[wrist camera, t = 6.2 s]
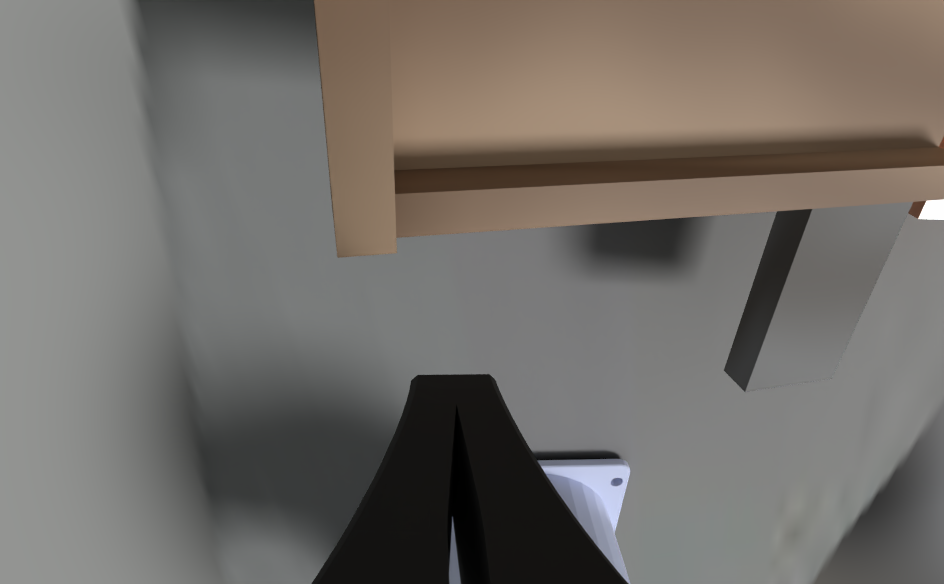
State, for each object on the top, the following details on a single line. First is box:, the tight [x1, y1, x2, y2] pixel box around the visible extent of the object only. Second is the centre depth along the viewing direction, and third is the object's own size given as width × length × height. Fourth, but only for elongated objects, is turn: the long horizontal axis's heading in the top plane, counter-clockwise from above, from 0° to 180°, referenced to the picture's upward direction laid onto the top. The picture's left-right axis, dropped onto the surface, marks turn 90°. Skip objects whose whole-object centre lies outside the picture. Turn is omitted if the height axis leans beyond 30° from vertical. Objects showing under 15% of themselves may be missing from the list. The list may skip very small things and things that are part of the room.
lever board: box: [314, 0, 944, 392], centre depth 12 cm, size 13×14×2 cm
